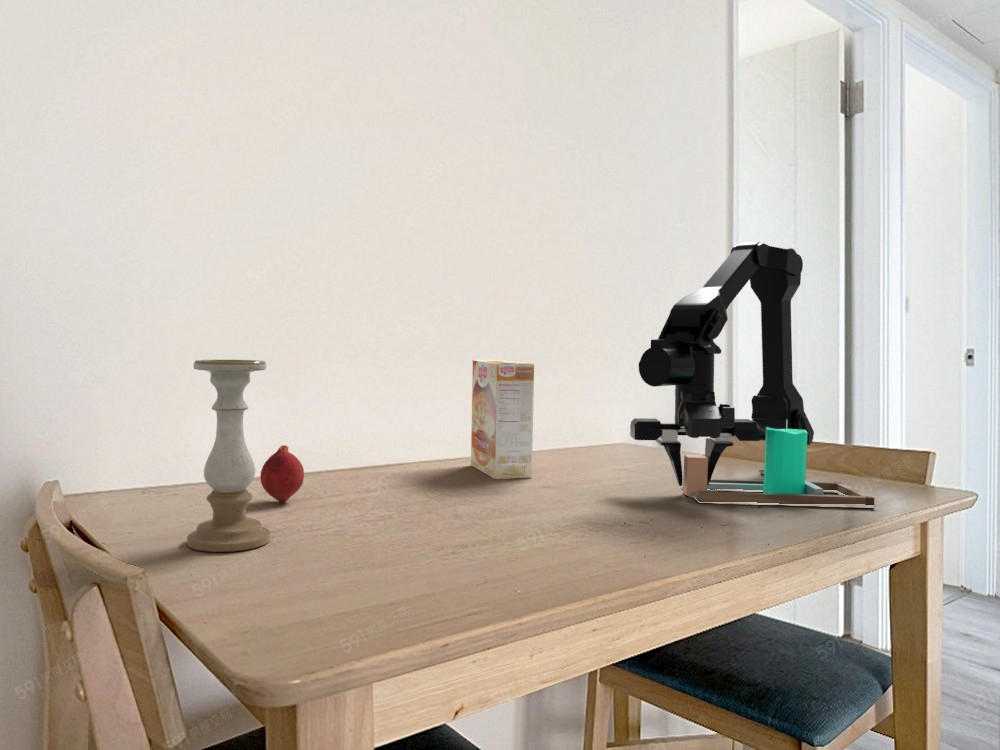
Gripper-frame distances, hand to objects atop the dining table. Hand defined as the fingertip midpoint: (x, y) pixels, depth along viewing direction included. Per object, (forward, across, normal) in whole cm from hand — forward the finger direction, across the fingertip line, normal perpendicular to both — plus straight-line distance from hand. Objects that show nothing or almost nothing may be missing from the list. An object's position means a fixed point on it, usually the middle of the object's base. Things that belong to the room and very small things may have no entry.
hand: (693, 485), depth 123 cm
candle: (+2, +14, 0) cm, 14 cm away
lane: (+2, +12, 0) cm, 12 cm away
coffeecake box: (+1, -30, +17) cm, 35 cm away
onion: (+1, -60, -14) cm, 61 cm away
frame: (+2, +8, 0) cm, 9 cm away
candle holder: (0, -59, -36) cm, 69 cm away
